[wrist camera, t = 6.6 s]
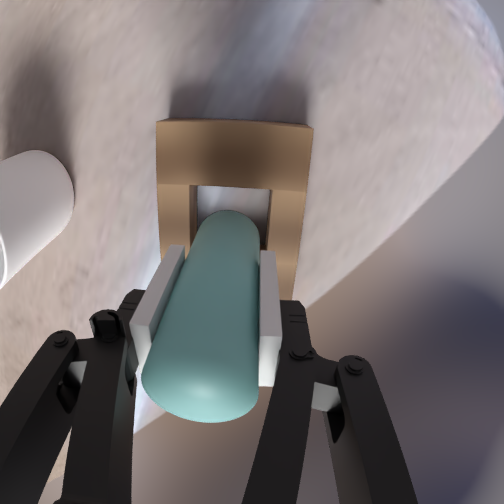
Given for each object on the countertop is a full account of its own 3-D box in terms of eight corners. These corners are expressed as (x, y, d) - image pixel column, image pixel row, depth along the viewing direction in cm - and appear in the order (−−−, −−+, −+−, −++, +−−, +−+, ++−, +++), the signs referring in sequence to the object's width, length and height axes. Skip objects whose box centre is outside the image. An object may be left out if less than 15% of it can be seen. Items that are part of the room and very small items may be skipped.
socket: (168, 118, 22) (156, 121, 19) (306, 124, 22) (313, 128, 19) (173, 282, 28) (165, 302, 25) (287, 290, 28) (289, 311, 26)
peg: (197, 208, 20) (131, 341, 9) (261, 212, 20) (263, 354, 9) (197, 265, 22) (150, 415, 11) (257, 269, 22) (254, 425, 11)
